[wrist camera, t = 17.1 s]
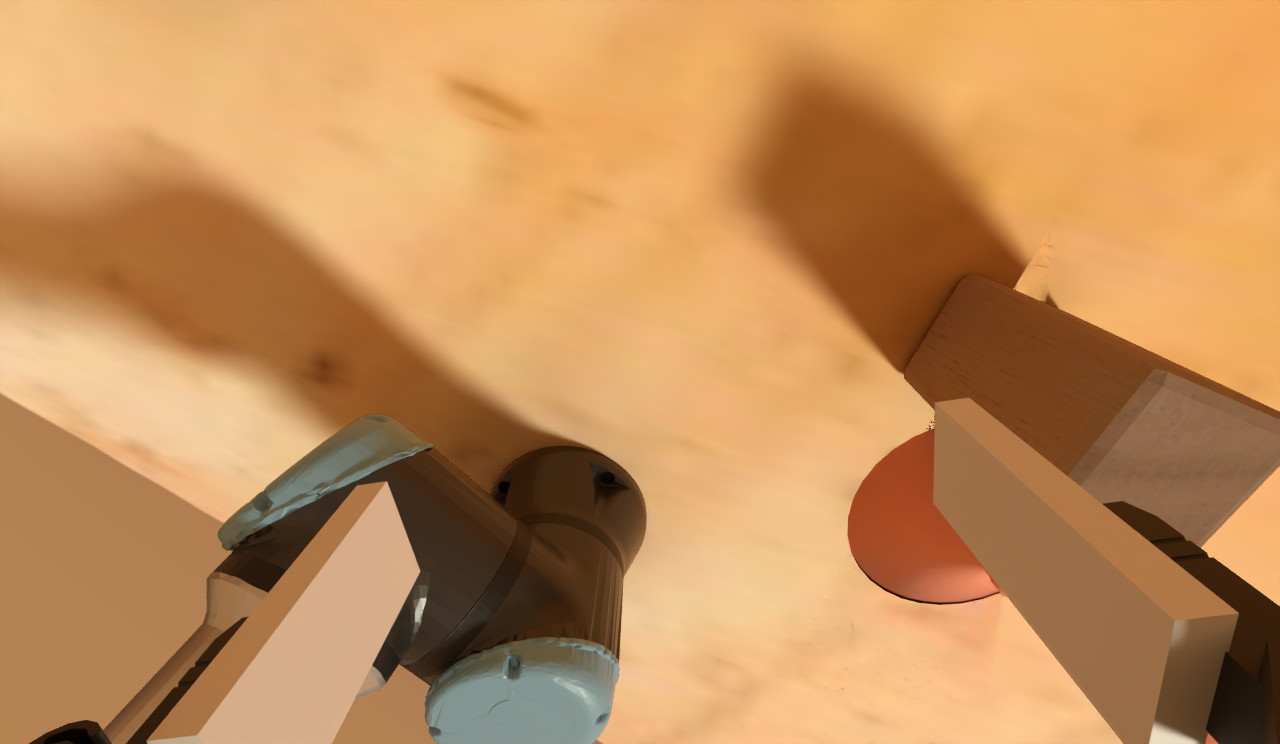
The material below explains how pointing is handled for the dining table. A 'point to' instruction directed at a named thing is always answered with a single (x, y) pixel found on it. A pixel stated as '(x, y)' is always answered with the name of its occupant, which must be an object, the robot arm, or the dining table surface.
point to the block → (1100, 406)
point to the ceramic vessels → (914, 534)
